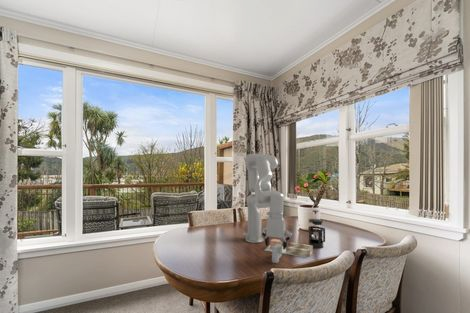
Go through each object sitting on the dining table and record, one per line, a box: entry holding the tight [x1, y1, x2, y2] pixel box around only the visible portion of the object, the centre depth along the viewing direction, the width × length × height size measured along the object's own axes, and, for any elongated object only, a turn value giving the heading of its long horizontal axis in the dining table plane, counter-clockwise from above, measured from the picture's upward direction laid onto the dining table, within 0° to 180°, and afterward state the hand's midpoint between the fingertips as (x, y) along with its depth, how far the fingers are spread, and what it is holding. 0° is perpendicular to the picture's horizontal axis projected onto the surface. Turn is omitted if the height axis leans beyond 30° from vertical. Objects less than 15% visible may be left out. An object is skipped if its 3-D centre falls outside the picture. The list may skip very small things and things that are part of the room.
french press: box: [307, 209, 326, 250], centre depth 153 cm, size 12×9×23 cm
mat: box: [264, 244, 311, 259], centre depth 143 cm, size 26×13×1 cm, turn 63°
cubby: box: [286, 241, 314, 258], centre depth 141 cm, size 14×11×4 cm
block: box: [269, 238, 282, 249], centre depth 147 cm, size 5×5×5 cm
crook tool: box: [271, 241, 283, 264], centre depth 131 cm, size 3×12×8 cm, turn 153°
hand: (275, 246), depth 129 cm, fingers open, 9 cm apart
